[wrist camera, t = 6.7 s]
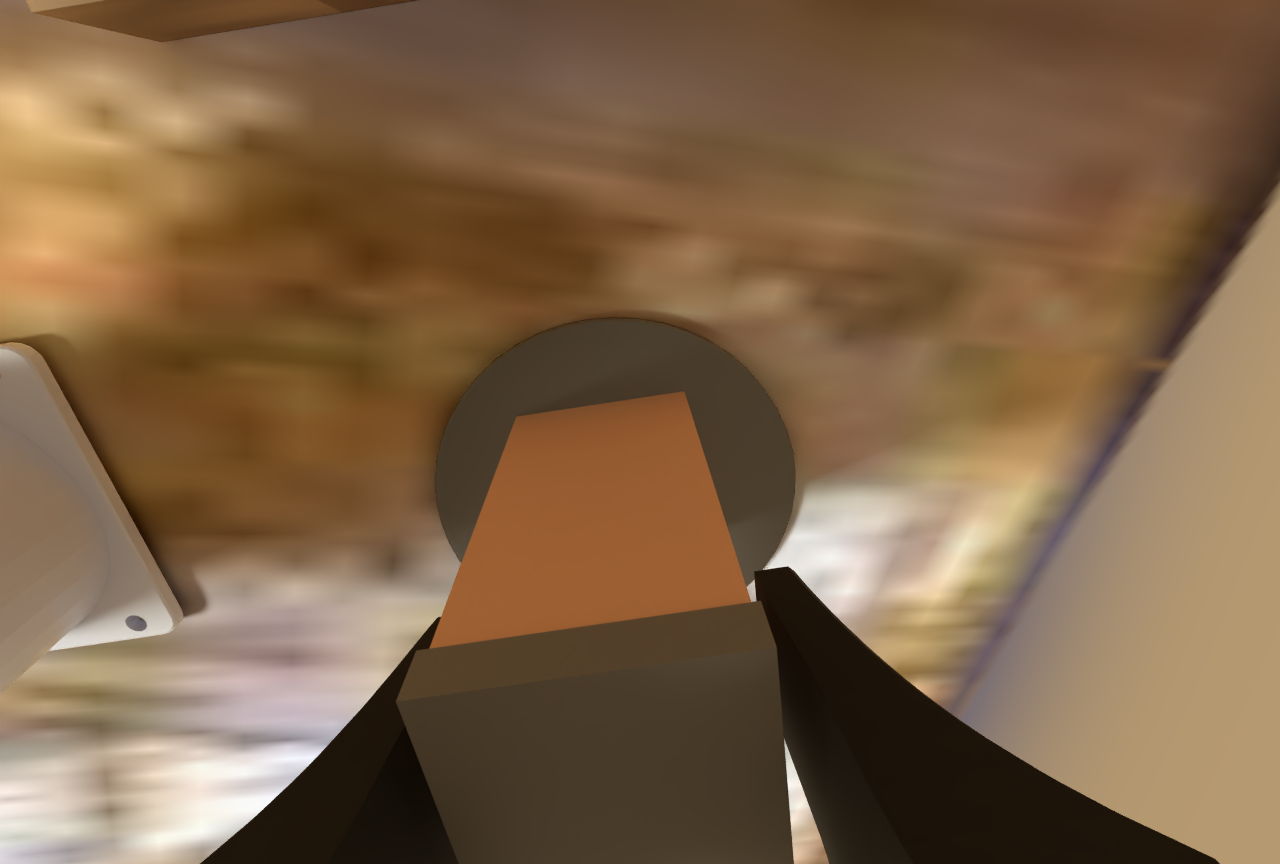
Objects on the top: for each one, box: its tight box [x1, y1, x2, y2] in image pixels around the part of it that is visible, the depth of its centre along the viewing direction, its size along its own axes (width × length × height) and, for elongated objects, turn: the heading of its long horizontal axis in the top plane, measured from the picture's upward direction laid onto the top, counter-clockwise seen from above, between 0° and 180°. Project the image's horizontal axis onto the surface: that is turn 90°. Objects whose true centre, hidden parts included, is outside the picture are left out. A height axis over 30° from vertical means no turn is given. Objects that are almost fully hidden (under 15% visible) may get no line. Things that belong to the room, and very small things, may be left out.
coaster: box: [435, 317, 795, 587], centre depth 16 cm, size 9×9×1 cm
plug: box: [396, 391, 794, 864], centre depth 12 cm, size 4×4×9 cm
